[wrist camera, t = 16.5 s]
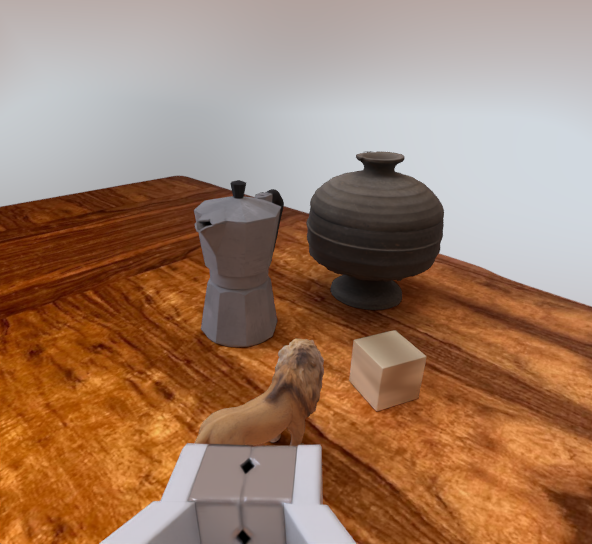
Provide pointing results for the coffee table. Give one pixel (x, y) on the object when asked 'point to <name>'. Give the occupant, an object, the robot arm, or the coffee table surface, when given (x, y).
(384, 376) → the beige block
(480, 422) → the coffee table surface
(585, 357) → the coffee table surface
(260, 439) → the lion figurine
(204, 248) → the coffeepot
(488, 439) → the coffee table surface
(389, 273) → the pot
